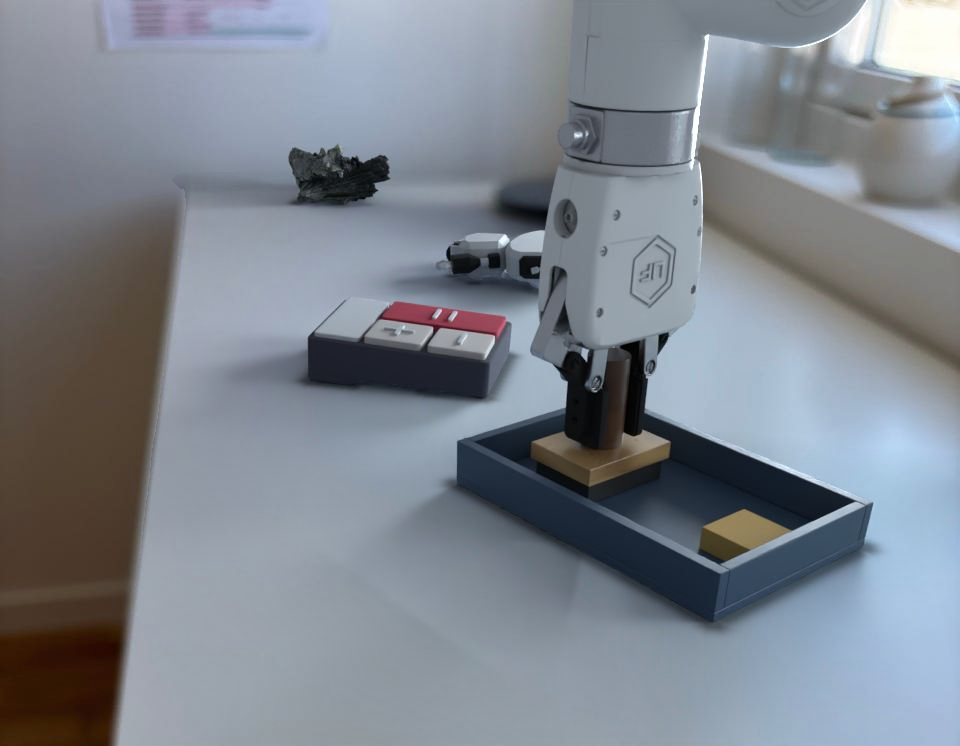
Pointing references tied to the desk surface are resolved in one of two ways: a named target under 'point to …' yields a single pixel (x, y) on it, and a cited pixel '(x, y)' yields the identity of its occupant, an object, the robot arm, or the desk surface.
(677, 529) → the tray
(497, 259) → the robot toy
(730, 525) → the mustard yellow tile
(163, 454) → the desk surface
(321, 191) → the mineral specimen
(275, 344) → the desk surface
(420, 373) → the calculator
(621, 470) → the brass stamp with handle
